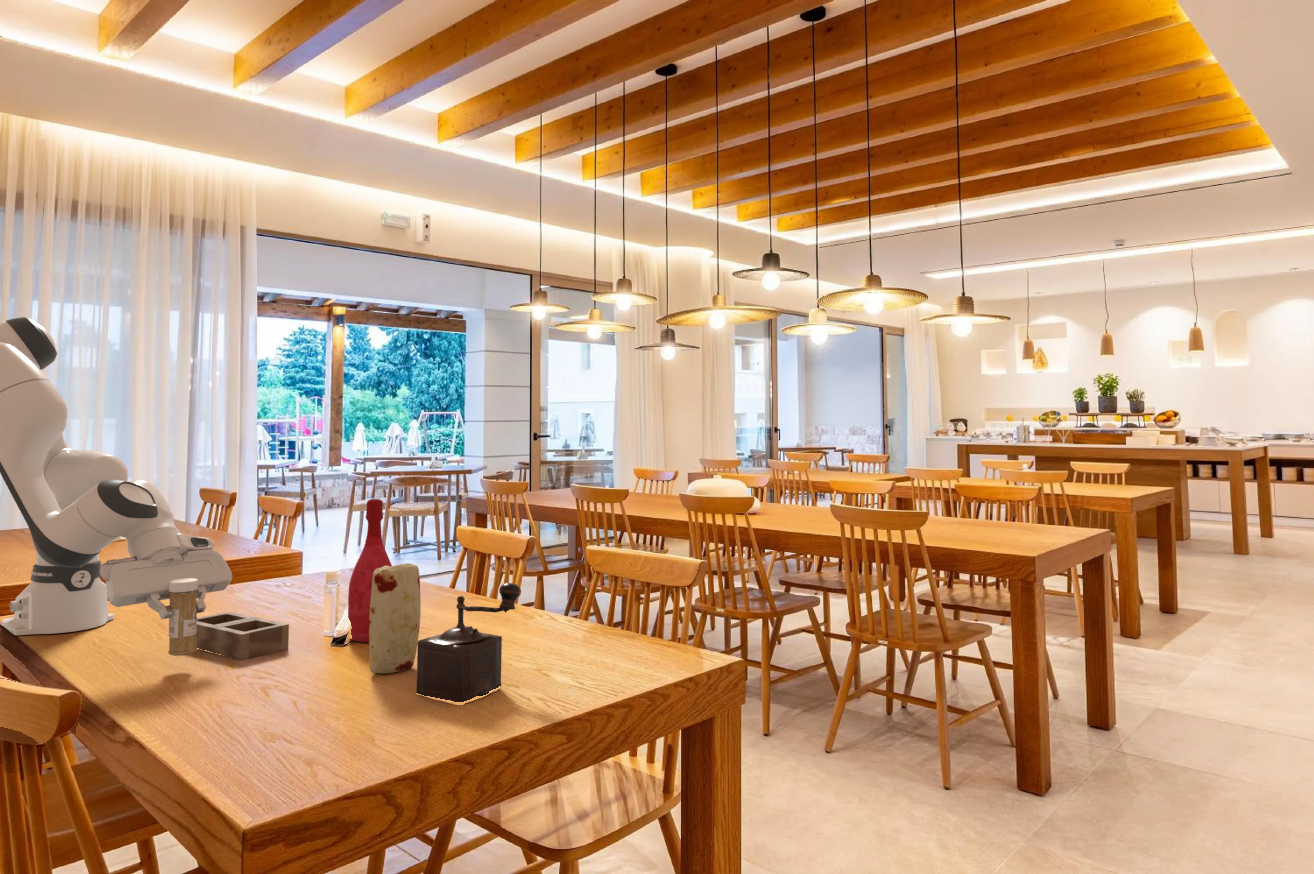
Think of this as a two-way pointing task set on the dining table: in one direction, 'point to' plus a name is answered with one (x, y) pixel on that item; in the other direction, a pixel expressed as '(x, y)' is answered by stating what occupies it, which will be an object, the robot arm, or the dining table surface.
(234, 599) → the dining table surface
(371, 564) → the wine bottle
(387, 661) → the food model
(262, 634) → the rail
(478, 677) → the coffee grinder
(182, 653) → the sprinkles bottle
